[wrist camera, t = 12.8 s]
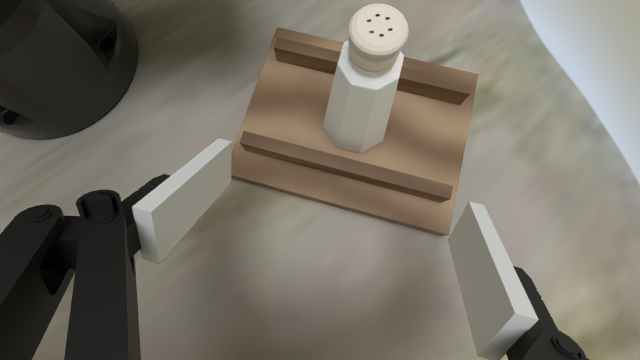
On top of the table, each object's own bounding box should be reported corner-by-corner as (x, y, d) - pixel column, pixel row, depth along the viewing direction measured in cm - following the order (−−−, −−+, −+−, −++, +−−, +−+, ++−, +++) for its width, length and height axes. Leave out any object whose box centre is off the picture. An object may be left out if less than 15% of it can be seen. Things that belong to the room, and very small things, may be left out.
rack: (441, 235, 24) (459, 233, 21) (230, 177, 25) (216, 167, 22) (469, 83, 27) (489, 61, 24) (279, 38, 28) (273, 11, 25)
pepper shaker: (318, 97, 25) (314, -16, 14) (382, 89, 25) (425, -30, 14) (327, 158, 24) (329, 84, 13) (393, 149, 24) (450, 69, 13)
